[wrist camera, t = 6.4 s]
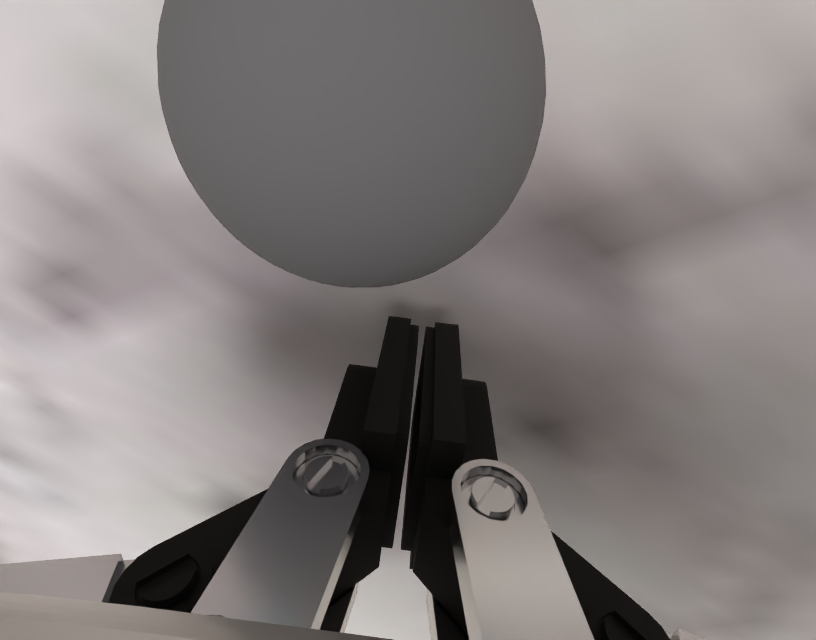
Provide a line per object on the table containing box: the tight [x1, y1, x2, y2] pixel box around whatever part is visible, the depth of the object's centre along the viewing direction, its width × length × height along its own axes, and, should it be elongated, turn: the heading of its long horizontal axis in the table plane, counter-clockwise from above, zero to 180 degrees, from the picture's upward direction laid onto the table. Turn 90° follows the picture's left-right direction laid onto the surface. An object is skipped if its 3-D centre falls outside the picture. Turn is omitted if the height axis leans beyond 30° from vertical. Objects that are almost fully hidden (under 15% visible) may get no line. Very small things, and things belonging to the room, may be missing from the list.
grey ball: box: [157, 0, 546, 288], centre depth 7 cm, size 6×6×6 cm
